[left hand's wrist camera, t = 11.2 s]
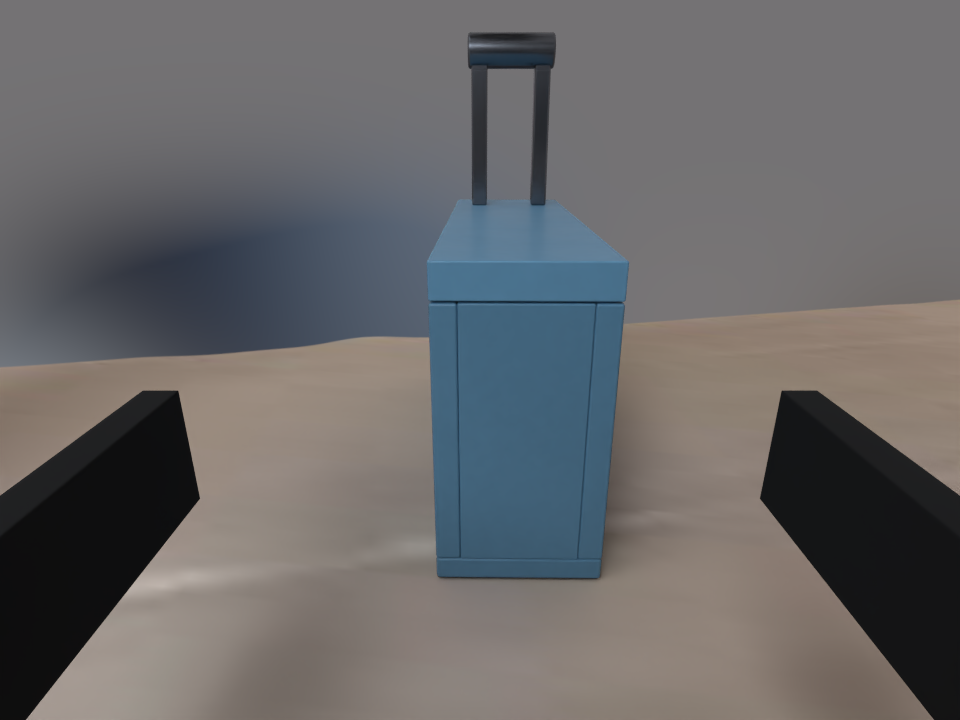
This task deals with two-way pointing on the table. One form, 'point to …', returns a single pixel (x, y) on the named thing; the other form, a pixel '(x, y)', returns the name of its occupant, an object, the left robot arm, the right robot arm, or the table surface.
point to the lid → (519, 208)
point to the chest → (522, 435)
